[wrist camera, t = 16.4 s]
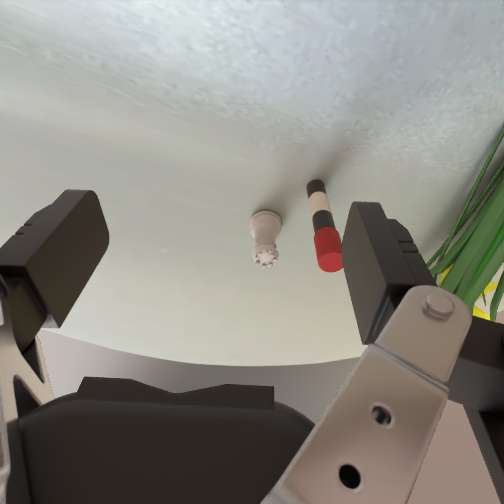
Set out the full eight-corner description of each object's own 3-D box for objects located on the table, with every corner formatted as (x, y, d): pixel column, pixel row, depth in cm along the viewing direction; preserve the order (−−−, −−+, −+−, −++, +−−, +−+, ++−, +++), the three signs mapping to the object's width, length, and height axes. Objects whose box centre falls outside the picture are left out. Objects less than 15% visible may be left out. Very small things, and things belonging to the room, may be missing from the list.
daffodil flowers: (611, 146, 39) (457, 368, 53) (476, 112, 44) (368, 322, 58) (709, 138, 25) (463, 445, 39) (492, 90, 30) (344, 375, 44)
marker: (327, 178, 42) (348, 252, 31) (323, 196, 44) (342, 273, 32) (306, 177, 42) (320, 251, 31) (303, 195, 44) (316, 271, 32)
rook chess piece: (273, 204, 45) (274, 240, 38) (286, 228, 47) (289, 266, 41) (243, 215, 46) (240, 253, 40) (257, 239, 48) (256, 277, 42)
